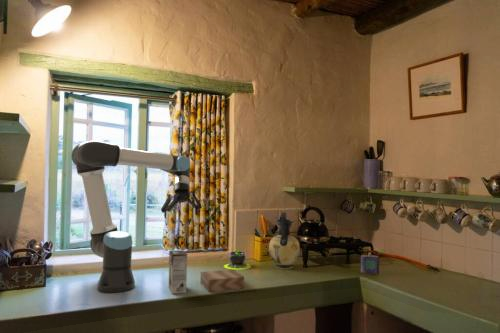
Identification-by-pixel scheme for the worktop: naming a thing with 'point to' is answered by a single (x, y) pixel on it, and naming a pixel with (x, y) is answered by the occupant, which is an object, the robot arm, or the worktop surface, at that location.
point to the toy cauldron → (237, 261)
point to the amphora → (284, 244)
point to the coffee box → (177, 271)
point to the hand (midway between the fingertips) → (180, 222)
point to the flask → (370, 264)
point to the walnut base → (222, 280)
